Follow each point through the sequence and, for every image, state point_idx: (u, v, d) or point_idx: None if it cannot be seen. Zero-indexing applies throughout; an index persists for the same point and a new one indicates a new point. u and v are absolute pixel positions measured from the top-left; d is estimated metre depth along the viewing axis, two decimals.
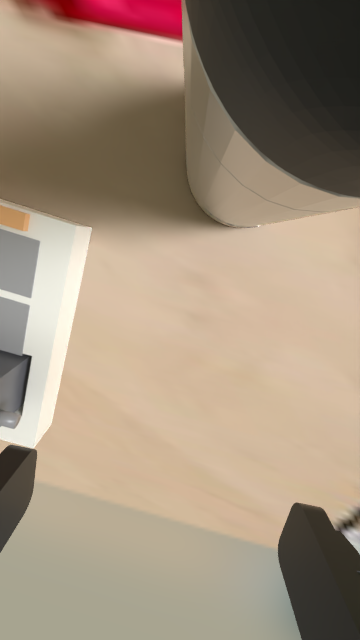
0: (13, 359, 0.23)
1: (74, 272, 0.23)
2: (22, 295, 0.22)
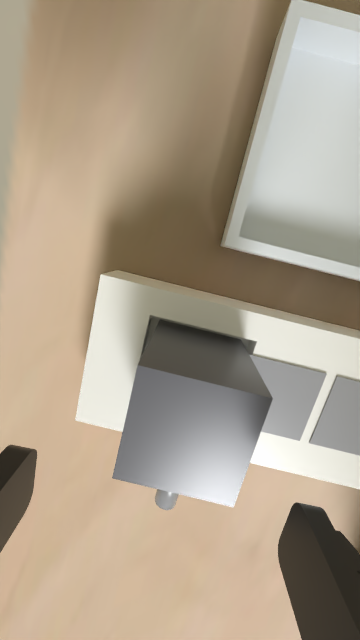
0: None
1: None
2: (313, 432, 0.16)
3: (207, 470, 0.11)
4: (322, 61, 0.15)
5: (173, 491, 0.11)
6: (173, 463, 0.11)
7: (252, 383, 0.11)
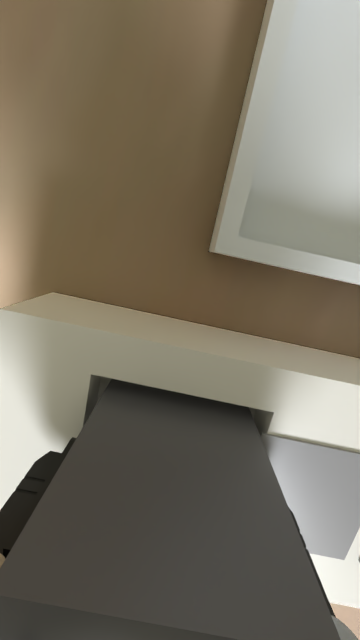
0: None
1: None
2: None
3: None
4: None
5: None
6: None
7: (286, 579, 0.05)
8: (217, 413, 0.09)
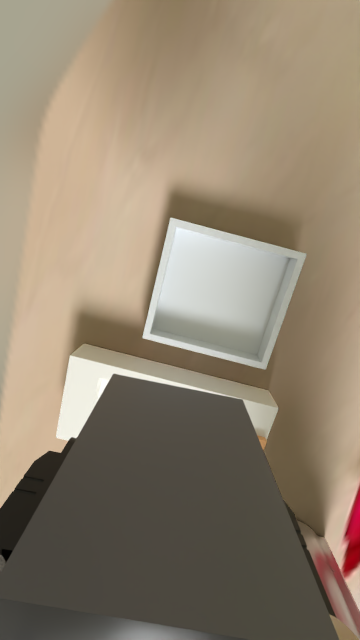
0: None
1: None
2: None
3: None
4: (197, 236, 0.26)
5: None
6: None
7: (284, 578, 0.05)
8: (215, 414, 0.09)
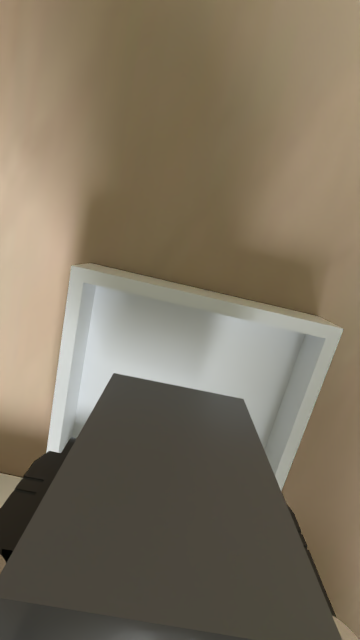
0: None
1: None
2: None
3: None
4: None
5: None
6: None
7: (286, 577, 0.05)
8: (215, 413, 0.09)
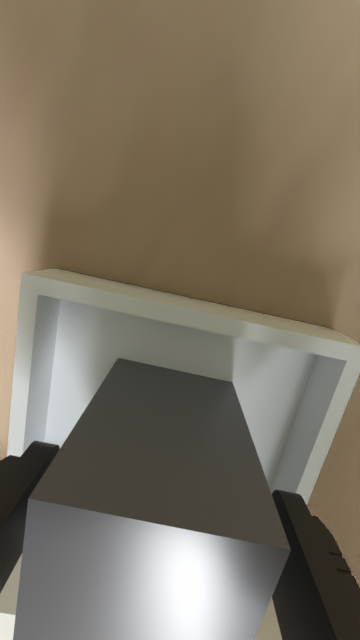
0: None
1: None
2: None
3: None
4: None
5: None
6: None
7: (251, 503, 0.06)
8: (206, 392, 0.11)
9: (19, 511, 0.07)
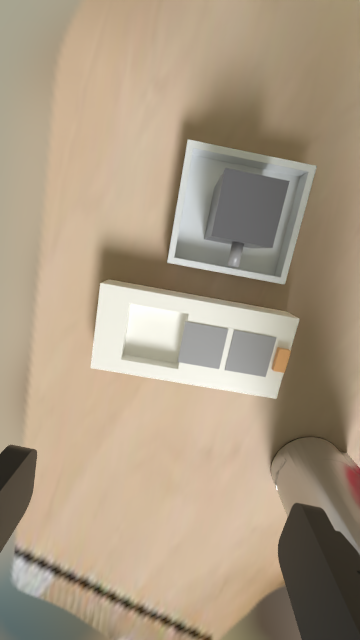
0: None
1: None
2: (226, 363, 0.29)
3: (259, 226, 0.22)
4: (211, 161, 0.27)
5: (242, 241, 0.22)
6: (242, 223, 0.22)
7: None
8: None
9: None
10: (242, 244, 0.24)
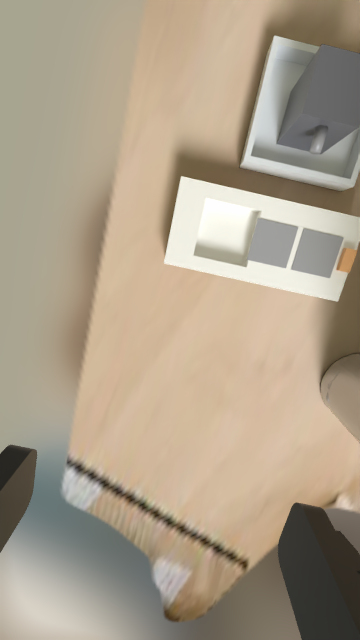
0: None
1: None
2: (292, 263, 0.31)
3: (348, 104, 0.24)
4: (290, 64, 0.29)
5: (330, 120, 0.24)
6: (332, 101, 0.24)
7: None
8: None
9: None
10: (327, 128, 0.25)
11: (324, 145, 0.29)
